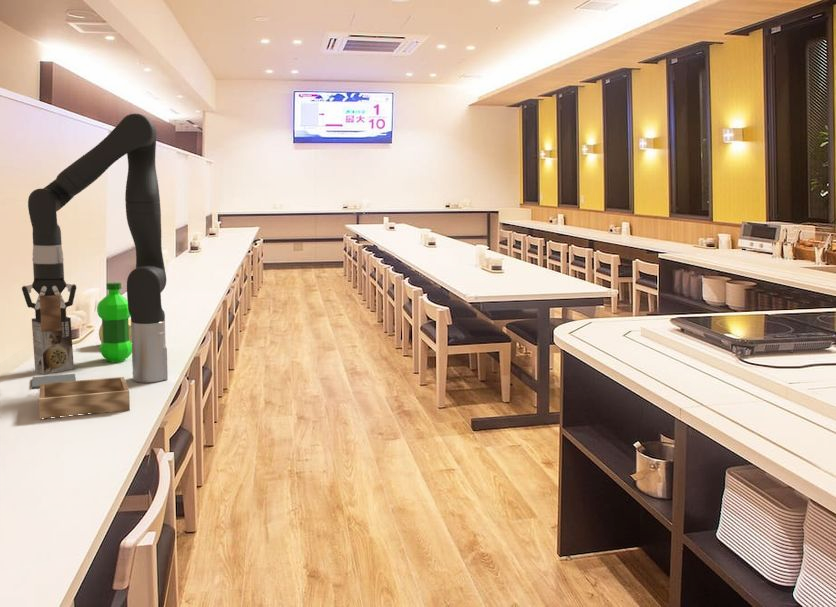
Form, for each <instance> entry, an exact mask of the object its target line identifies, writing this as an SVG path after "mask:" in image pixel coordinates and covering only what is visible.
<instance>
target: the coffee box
mask: <svg viewBox="0 0 836 607" xmlns="http://www.w3.org/2000/svg"><path fill="white" fill-rule="evenodd" d="M71 318H72V317H68V315H66V319H64V321H63V322H61V327H62V331H52V332H41V323H39V321H36V317H35V318H31V327H32V329H31V330H32V343H33V344H32V345H33V346H32V347H33V357H34V359H33V360H34V371H35V372H37V373H40V374H42V375H47V374H53V373H57V372H63V371H68V370H69V371H70V370H74V369H75V368H74V366H75V364H74V353H73V352H74V350H73V337H72V334H73V332H72V319H71Z"/></svg>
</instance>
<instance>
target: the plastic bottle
mask: <svg viewBox="0 0 836 607" xmlns="http://www.w3.org/2000/svg"><path fill="white" fill-rule="evenodd" d="M121 289H122V283H121V282H107V283H106V290H107V291H108V294H107V295H106V296H104V297H103V298H102V299H101V300H100V301H99V302H98V303H97V306H96V312H97V316H99V318H100V319H101V324H102V334H103V341H102V343H101V342H100V346H99V353H100V354H101V355H102V357H103V358H104V359H105V360H106V361H108V362H110V363H119V362H125V361H126V359H128V358H129V357H130V356H132V343H131V342H130V341H129V323H128V319H130V318H131V316H130V313H129V310H128V300H127V298H125V297H124V296H123V295H122V294H120V290H121Z"/></svg>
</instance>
